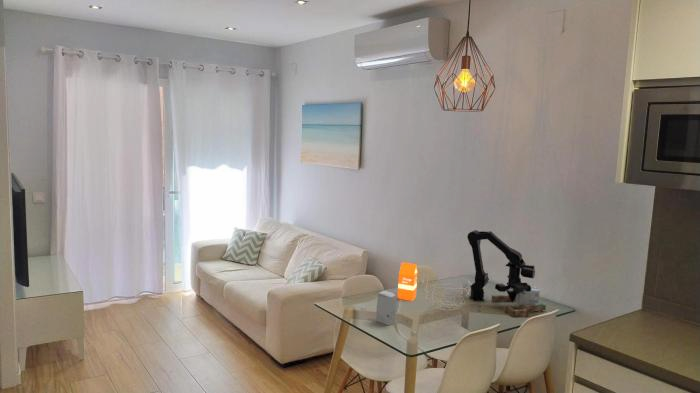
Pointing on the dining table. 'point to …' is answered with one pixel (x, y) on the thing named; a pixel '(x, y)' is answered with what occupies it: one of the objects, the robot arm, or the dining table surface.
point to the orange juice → (407, 281)
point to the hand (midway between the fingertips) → (511, 302)
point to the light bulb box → (528, 297)
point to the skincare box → (386, 307)
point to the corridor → (523, 309)
